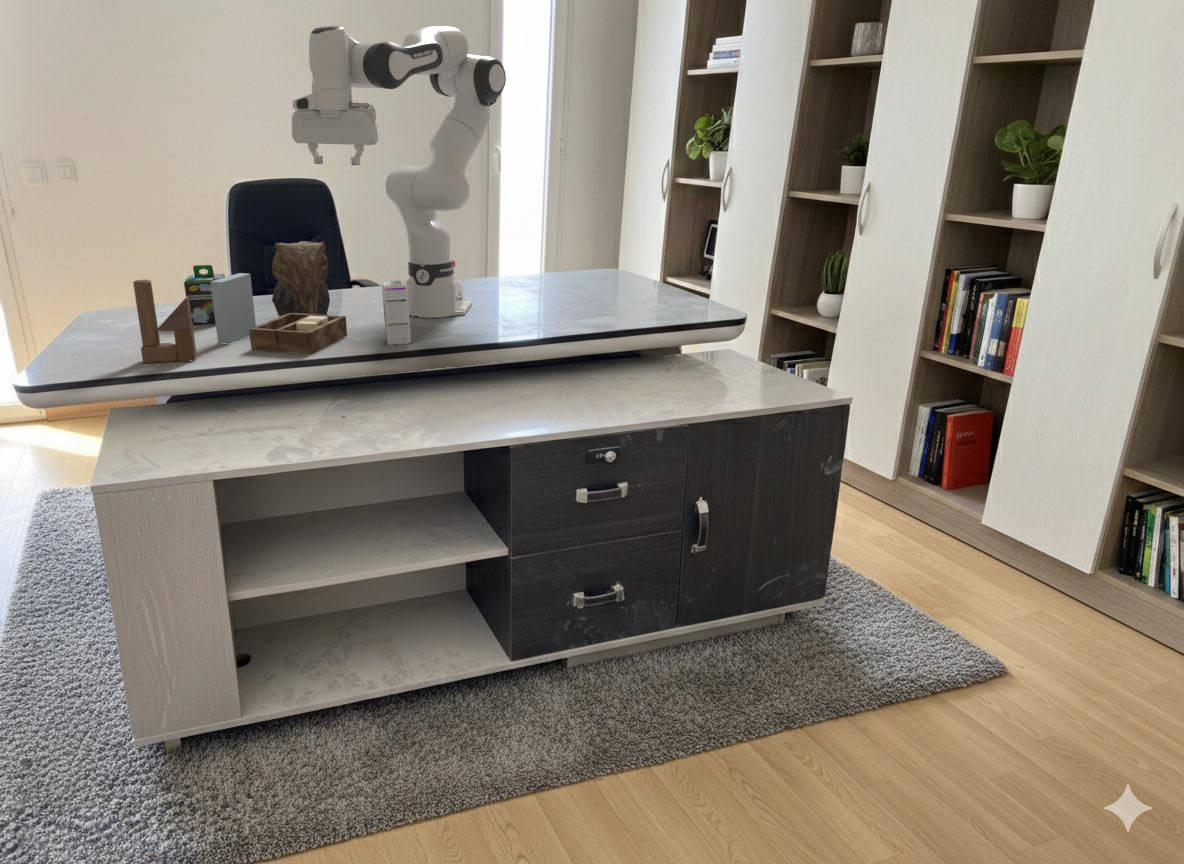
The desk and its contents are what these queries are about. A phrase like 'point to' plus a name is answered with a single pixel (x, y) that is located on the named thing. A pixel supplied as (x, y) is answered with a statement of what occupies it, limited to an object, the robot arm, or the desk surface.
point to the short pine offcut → (311, 323)
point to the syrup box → (396, 312)
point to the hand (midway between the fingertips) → (337, 164)
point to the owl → (300, 278)
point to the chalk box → (201, 294)
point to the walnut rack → (296, 334)
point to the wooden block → (163, 328)
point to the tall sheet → (233, 307)
